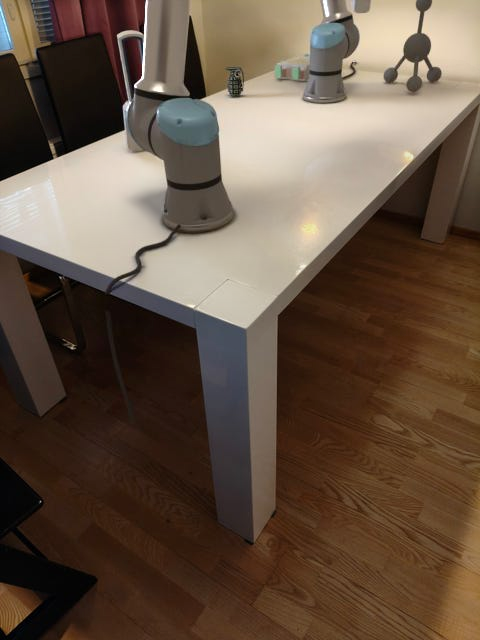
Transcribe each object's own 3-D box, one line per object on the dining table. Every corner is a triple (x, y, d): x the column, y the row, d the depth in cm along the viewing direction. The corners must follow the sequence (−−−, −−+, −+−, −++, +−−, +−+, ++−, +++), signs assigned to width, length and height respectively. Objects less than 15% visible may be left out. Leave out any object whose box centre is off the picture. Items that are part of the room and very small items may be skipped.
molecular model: (460, 87, 184) (480, -8, 165) (411, 95, 178) (426, -3, 159) (420, 76, 201) (434, -12, 183) (374, 83, 195) (384, -7, 177)
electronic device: (128, 152, 143) (106, 36, 125) (126, 144, 149) (105, 32, 131) (170, 146, 146) (154, 31, 127) (166, 139, 151) (151, 28, 133)
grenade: (225, 97, 189) (224, 69, 182) (229, 93, 193) (228, 66, 187) (242, 97, 187) (241, 69, 181) (245, 94, 192) (244, 66, 185)
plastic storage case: (297, 52, 222) (336, 55, 212) (296, 67, 226) (335, 71, 216) (266, 63, 206) (307, 66, 196) (266, 79, 210) (307, 83, 200)
